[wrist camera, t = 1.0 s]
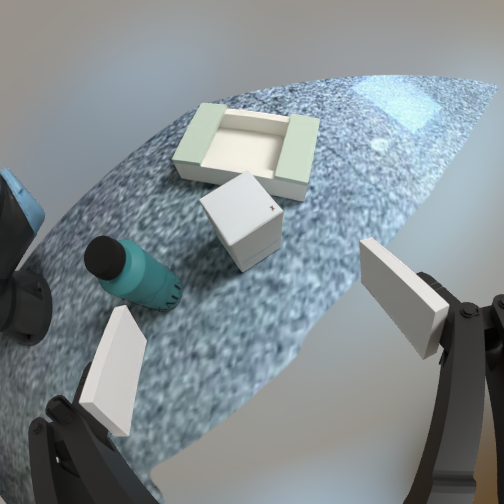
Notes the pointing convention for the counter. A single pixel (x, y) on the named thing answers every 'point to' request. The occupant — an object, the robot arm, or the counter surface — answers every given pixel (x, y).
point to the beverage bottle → (132, 273)
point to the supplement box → (245, 219)
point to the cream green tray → (249, 149)
